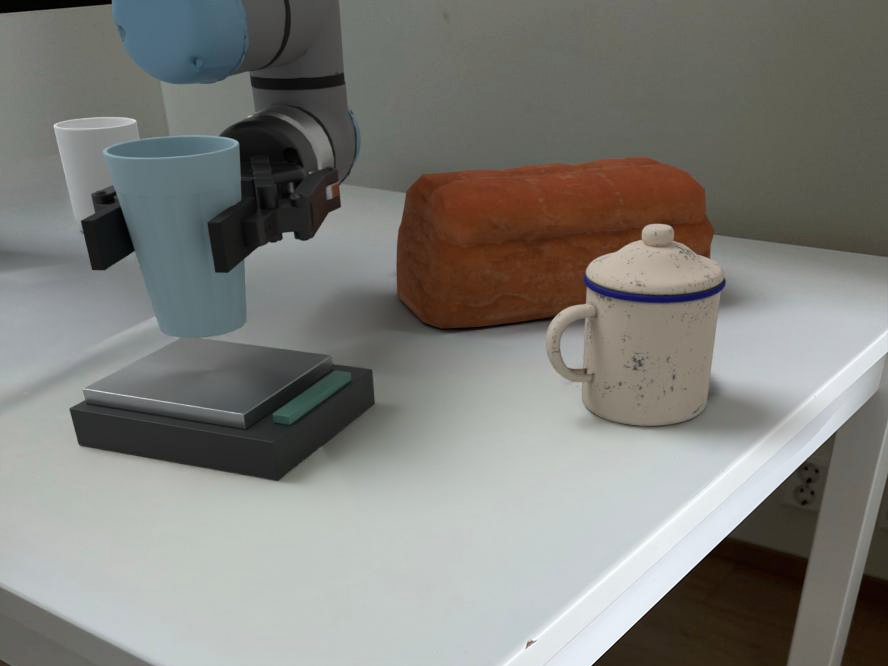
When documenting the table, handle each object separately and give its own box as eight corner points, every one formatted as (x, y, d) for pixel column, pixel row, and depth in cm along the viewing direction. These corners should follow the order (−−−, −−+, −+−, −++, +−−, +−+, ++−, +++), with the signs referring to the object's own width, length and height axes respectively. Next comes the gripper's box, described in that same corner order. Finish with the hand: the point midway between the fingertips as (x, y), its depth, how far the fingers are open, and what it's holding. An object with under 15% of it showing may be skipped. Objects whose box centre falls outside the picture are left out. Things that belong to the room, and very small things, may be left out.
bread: (725, 303, 88) (742, 172, 82) (437, 340, 81) (432, 200, 75) (643, 259, 100) (652, 143, 94) (386, 288, 93) (378, 164, 87)
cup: (235, 347, 60) (204, 158, 54) (119, 341, 61) (76, 156, 56) (281, 310, 66) (258, 135, 60) (175, 305, 68) (142, 134, 62)
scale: (78, 444, 65) (64, 393, 63) (195, 377, 75) (187, 330, 73) (278, 480, 60) (270, 426, 58) (375, 403, 70) (371, 354, 68)
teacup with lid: (667, 372, 74) (684, 205, 68) (735, 417, 67) (761, 235, 61) (519, 396, 71) (521, 222, 64) (574, 445, 64) (583, 256, 57)
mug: (159, 210, 121) (141, 111, 115) (153, 233, 111) (133, 126, 105) (85, 214, 119) (63, 114, 113) (73, 238, 110) (47, 130, 104)
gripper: (403, 224, 76) (331, 317, 57) (156, 220, 78) (9, 310, 60) (397, 113, 72) (316, 176, 53) (136, 113, 74) (-29, 173, 55)
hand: (155, 246), depth 56 cm, fingers closed on cup, 7 cm apart
